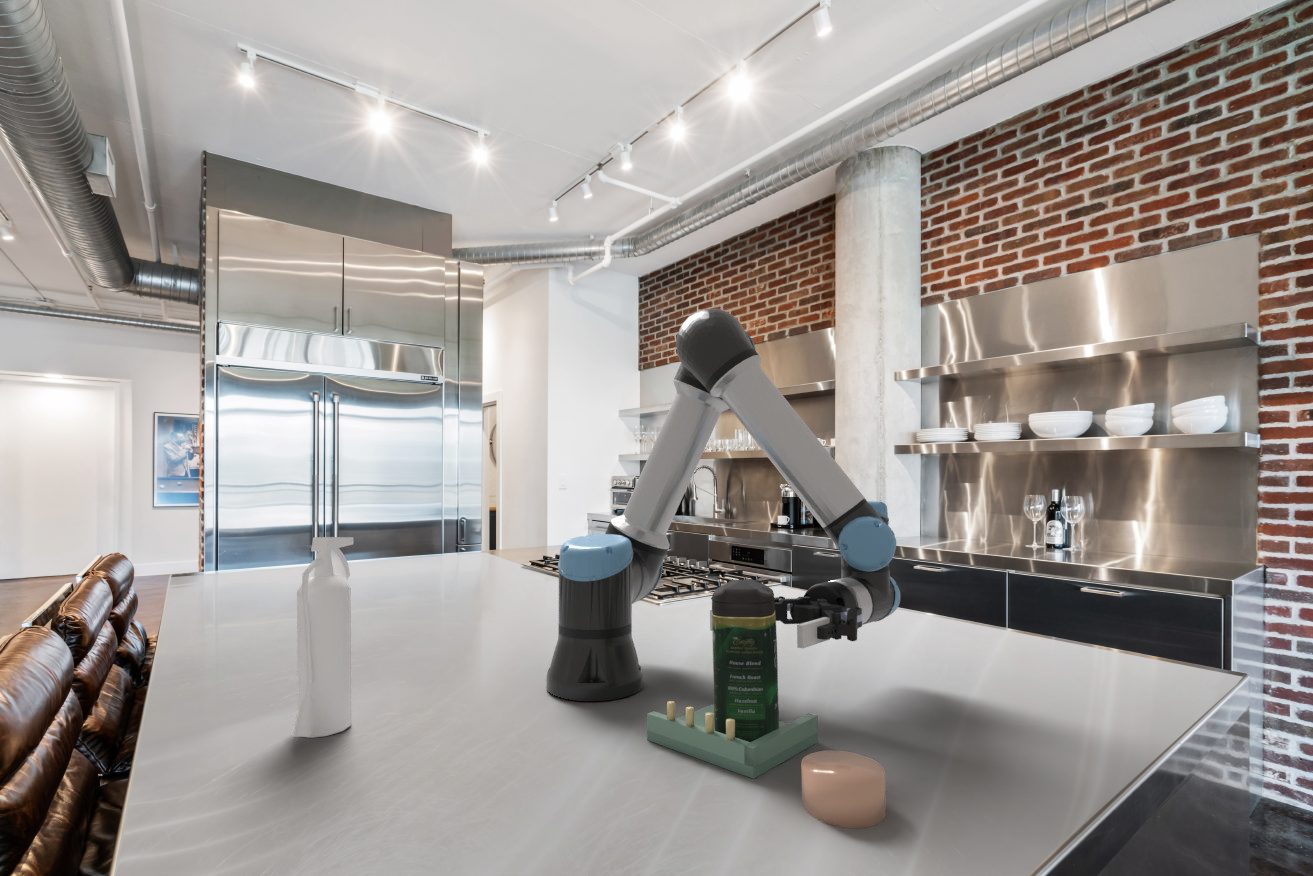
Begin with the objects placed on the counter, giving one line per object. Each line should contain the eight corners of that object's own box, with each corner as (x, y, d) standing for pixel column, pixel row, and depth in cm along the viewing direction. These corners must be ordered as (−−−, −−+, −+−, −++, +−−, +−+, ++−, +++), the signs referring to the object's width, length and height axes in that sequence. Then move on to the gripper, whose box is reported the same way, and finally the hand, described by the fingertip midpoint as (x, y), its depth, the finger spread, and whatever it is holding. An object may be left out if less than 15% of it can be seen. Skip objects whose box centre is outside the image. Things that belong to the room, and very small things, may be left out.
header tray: (647, 739, 82) (647, 697, 82) (715, 711, 92) (715, 673, 92) (753, 778, 71) (753, 729, 71) (817, 742, 81) (817, 699, 82)
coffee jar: (780, 751, 75) (773, 587, 76) (711, 747, 76) (706, 586, 78) (780, 721, 84) (775, 575, 86) (719, 718, 86) (714, 575, 87)
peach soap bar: (786, 809, 65) (786, 767, 65) (826, 782, 71) (825, 744, 71) (863, 838, 59) (862, 793, 60) (899, 807, 65) (898, 765, 65)
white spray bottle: (262, 749, 79) (271, 540, 80) (320, 714, 91) (326, 533, 93) (316, 751, 78) (324, 540, 80) (367, 715, 90) (373, 533, 92)
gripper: (919, 645, 90) (843, 677, 75) (767, 619, 107) (681, 642, 92) (917, 589, 90) (842, 611, 75) (766, 573, 108) (680, 588, 93)
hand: (753, 628), depth 84 cm, fingers open, 13 cm apart
